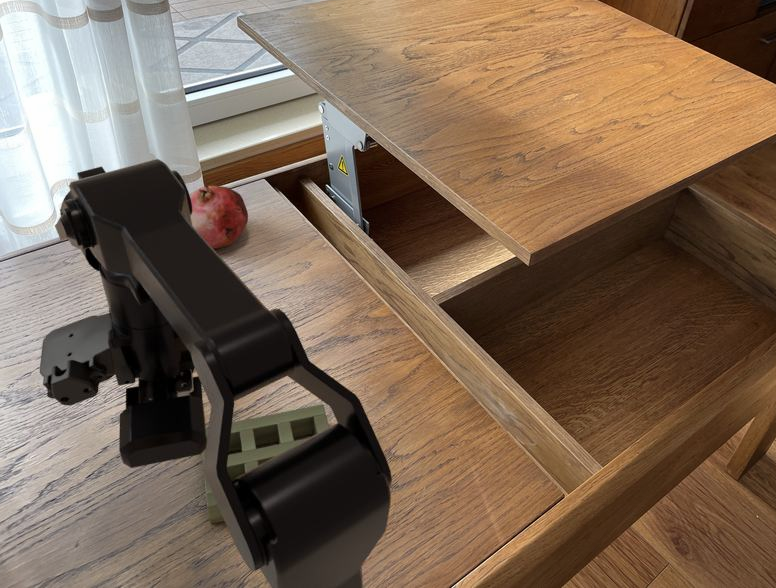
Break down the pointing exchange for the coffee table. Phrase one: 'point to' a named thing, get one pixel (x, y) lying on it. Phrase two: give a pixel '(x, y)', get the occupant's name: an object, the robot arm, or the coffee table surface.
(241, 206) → the fruit
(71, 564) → the coffee table surface
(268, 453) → the rack
